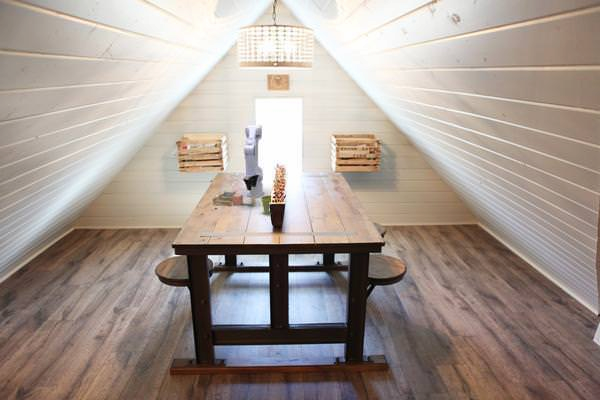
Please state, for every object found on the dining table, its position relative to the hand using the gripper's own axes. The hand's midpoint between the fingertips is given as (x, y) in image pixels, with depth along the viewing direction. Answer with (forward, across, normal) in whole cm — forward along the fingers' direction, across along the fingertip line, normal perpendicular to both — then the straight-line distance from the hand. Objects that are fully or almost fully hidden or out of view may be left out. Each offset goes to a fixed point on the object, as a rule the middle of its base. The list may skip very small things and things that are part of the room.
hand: (251, 188), depth 264 cm
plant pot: (+10, -11, -15) cm, 21 cm away
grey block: (+10, +6, +16) cm, 20 cm away
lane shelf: (+10, +2, +16) cm, 19 cm away
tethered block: (+10, -2, +4) cm, 11 cm away
